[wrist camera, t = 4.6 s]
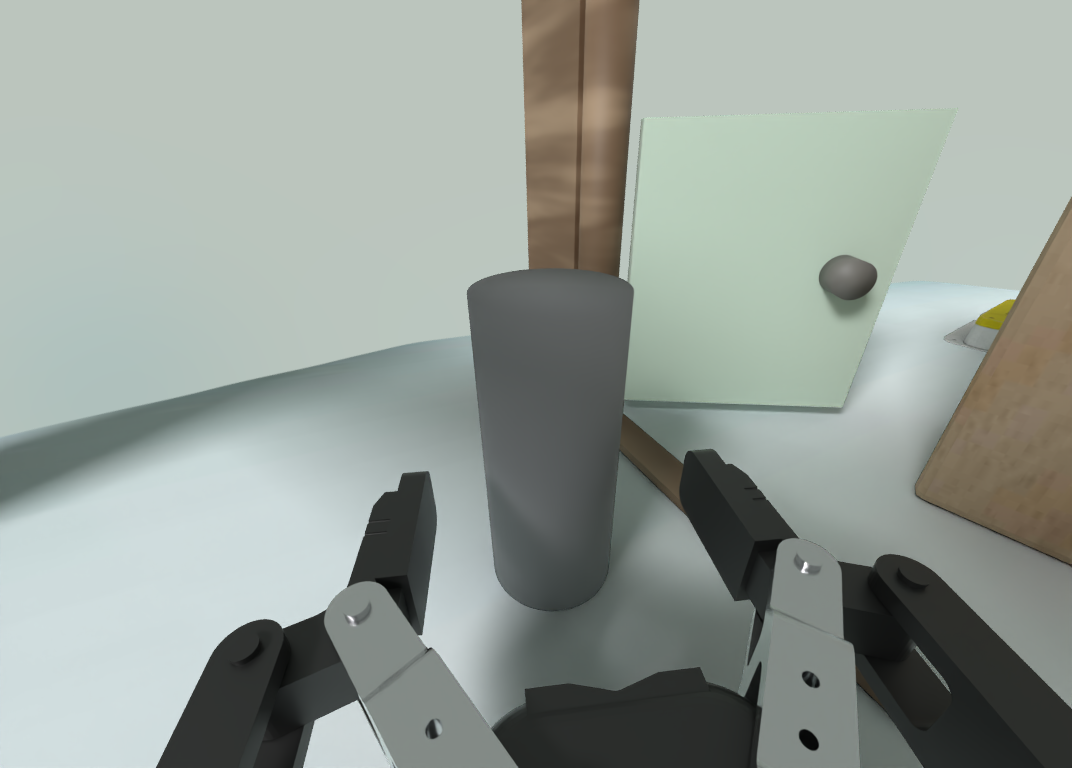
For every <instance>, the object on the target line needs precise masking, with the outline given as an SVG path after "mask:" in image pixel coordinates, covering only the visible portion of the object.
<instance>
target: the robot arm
mask: <svg viewBox="0 0 1072 768" xmlns="http://www.w3.org/2000/svg"><path fill="white" fill-rule="evenodd" d="M679 497H680V501H681V505H682V507H683V509H684V511H685V513H686V514H687V516H688V518H689V520H690V522H691V523H692V525H693V527H694V529H695V531H696V532H697V534H698V536H699V538H700V540H701V541H702V543H703V545H704V547H705V549H706V550H707V552H708V554H709V556H710V558H711V559H712V561H713V563H714V565H715V567H716V568H717V570H718V572H719V574H720V576H721V577H722V579H723V581H724V583H725V585H726V586H727V588H728V590H729V592H730V594H731V595H732V597H733V599H734V601H741V600H751V601H752V603H753V605H754V607H755V609H754V611H753V615H752V621H751V627H750V633H749V639H748V645H747V651H746V657H745V663H744V669H743V675H742V679H741V683H740V687H739V690H738V694H737V693H735V692H734V691H731V690H729V689H727V688H724V687H722V686H719V685H715V684H712V683H708V682H706V681H705V678H704V676H703V673H702V671H701V669H700V667H697V668H689V669H681V670H673V671H665V672H658V673H656V674H654V675H651V676H649V677H647V678H645V679H643V680H641V681H639V682H636V683H634V684H632V685H630V686H628V687H626V688H624V689H622V690H618V691H611V690H605V689H599V688H593V687H587V686H581V685H575V684H561V685H553V686H545V687H537V688H529V689H525V697H526V704H523V705H521V706H519V707H517V708H515V709H514V710H512V711H511V712H509V713H508V714H506V715H505V716H504V717H503V718H501V719H500V720H499V721H498V722H497V723H496V724H495V725H494V726H493V727H492V728H490V727H489V725H488V724H487V723H486V721H485V720H484V718H483V717H482V715H481V714H480V713H479V711H478V710H477V708H476V707H475V706H474V704H473V703H472V701H471V700H470V698H469V697H468V696H467V694H466V693H465V691H464V690H463V689H462V687H461V686H460V684H459V683H458V681H457V680H456V679H455V677H454V676H453V674H452V673H451V672H450V670H449V669H448V667H447V666H446V664H445V663H444V662H443V660H442V659H441V657H440V656H439V655H438V654H437V652H436V651H435V650H434V649H433V648H429V649H428V648H427V647H426V646H425V645H424V644H423V642H422V641H421V639H420V638H419V637H418V635H422V633H423V625H424V618H425V610H426V603H427V595H428V588H429V580H430V573H431V565H432V558H433V550H434V543H435V535H436V527H437V515H436V506H435V501H434V495H433V489H432V484H431V478H430V474H429V472H428V471H425V472H413V473H403V474H402V476H401V480H400V484H399V488H398V491H395V492H385V493H384V494H383V495H382V496H381V498H380V499H379V500H378V501H377V502H376V503H375V505H374V506H373V509H372V512H371V515H370V518H369V524H367V528H366V531H365V536H364V537H363V540H362V543H361V546H360V549H359V552H358V556H357V559H356V562H355V565H354V568H353V571H352V574H351V577H350V581H349V583H348V586H347V588H346V589H344V590H343V591H341V592H340V593H339V594H338V595H337V596H336V597H335V598H334V599H333V600H332V601H331V603H330V604H329V606H328V608H327V609H326V610H325V611H323V612H322V613H320V614H318V615H316V616H314V617H311V618H309V619H306V620H304V621H301V622H299V623H296V624H293V625H291V626H288V627H286V628H283V629H282V627H281V626H280V625H279V624H278V623H277V622H275V621H273V620H267V619H263V620H256V621H253V622H250V623H247V624H245V625H243V626H241V627H239V628H238V629H236V630H235V631H233V632H232V633H231V634H229V635H228V636H227V637H226V638H225V639H224V640H223V641H222V642H221V643H220V644H219V645H218V646H217V647H216V649H215V650H214V652H213V653H212V655H211V657H210V659H209V661H208V663H207V665H206V667H205V669H204V671H203V673H202V675H201V677H200V679H199V681H198V683H197V685H196V687H195V689H194V691H193V693H192V695H191V697H190V699H189V701H188V704H187V706H186V708H185V710H184V712H183V714H182V716H181V718H180V720H179V722H178V724H177V726H176V728H175V730H174V732H173V734H172V736H171V738H170V740H169V742H168V744H167V746H166V748H165V750H164V752H163V755H162V757H161V759H160V761H159V763H158V765H157V767H156V768H303V765H304V761H305V757H306V753H307V749H308V745H309V741H310V737H311V733H312V729H313V725H314V721H315V720H316V719H318V718H320V717H322V716H325V715H327V714H329V713H331V712H333V711H335V710H337V709H339V708H341V707H343V706H345V705H347V704H350V703H352V702H354V701H356V700H357V701H358V703H359V705H360V707H361V709H362V711H363V713H364V715H365V717H366V719H367V721H368V723H369V725H370V727H371V729H372V731H373V733H374V735H375V737H376V739H377V741H378V743H379V745H380V747H381V749H382V751H383V753H384V755H385V757H386V759H387V761H388V763H389V765H390V768H860V750H859V730H858V711H857V691H856V671H855V665H856V666H857V668H858V669H859V671H860V672H861V674H862V675H863V677H864V678H865V680H866V681H867V683H868V684H869V686H870V687H871V689H872V690H873V692H874V693H875V695H876V696H877V698H878V699H879V701H880V702H881V704H882V705H883V707H884V708H885V710H886V711H887V713H888V714H889V716H890V717H891V719H892V720H893V722H894V723H895V725H896V726H897V728H898V729H899V731H900V732H901V734H902V735H903V737H904V738H905V740H906V741H907V743H908V744H909V746H910V747H911V749H912V750H913V752H914V753H915V755H916V756H917V758H918V759H919V761H920V762H921V764H922V765H923V767H924V768H1072V709H1071V708H1070V707H1069V706H1068V705H1067V704H1066V703H1065V702H1064V701H1063V700H1062V699H1061V698H1060V697H1059V696H1058V695H1057V694H1056V693H1055V692H1054V691H1053V690H1052V689H1051V688H1050V687H1049V686H1048V685H1047V684H1046V683H1045V682H1044V681H1043V680H1042V679H1041V678H1040V677H1039V676H1038V675H1037V674H1036V673H1035V672H1034V671H1033V670H1032V669H1031V668H1030V667H1029V666H1028V665H1027V664H1026V663H1025V662H1024V661H1023V660H1022V659H1021V658H1020V657H1019V656H1018V655H1017V654H1016V653H1015V652H1014V651H1013V650H1012V649H1011V648H1010V647H1009V646H1008V645H1007V644H1006V643H1005V642H1004V641H1003V640H1002V639H1001V638H1000V637H999V636H998V635H997V634H996V633H995V632H994V631H993V630H992V629H991V628H990V627H989V626H988V625H987V624H986V623H985V622H984V621H983V620H982V619H981V618H980V617H979V616H978V615H977V614H976V613H975V612H974V611H973V610H972V609H971V608H970V607H969V606H968V605H967V604H966V603H965V602H964V601H963V600H962V599H961V598H960V597H959V596H958V595H957V594H956V593H955V592H954V591H953V590H952V589H951V588H950V587H949V586H948V585H947V584H946V583H945V582H944V581H943V580H942V579H941V578H940V577H939V576H938V575H937V574H936V573H935V572H933V571H932V570H931V569H929V568H928V567H926V566H925V565H923V564H921V563H919V562H917V561H915V560H913V559H910V558H907V557H904V556H900V555H894V554H888V555H883V556H881V557H879V558H878V559H877V561H876V562H875V564H874V566H873V567H868V566H862V565H856V564H850V563H845V562H839V561H837V560H836V559H835V558H834V557H833V556H832V555H831V554H830V553H829V552H828V551H826V550H825V549H824V548H822V547H821V546H819V545H817V544H815V543H813V542H810V541H807V540H803V539H799V538H798V537H797V535H796V534H795V533H794V532H793V530H792V529H791V528H790V527H789V525H788V524H787V523H786V522H785V521H784V519H783V518H782V517H781V516H780V514H779V513H778V512H777V511H776V510H775V508H774V507H773V506H772V505H771V503H770V502H769V501H768V500H766V497H765V496H764V495H763V494H762V492H761V491H760V490H758V489H757V486H756V485H755V484H754V482H753V481H752V480H751V479H750V478H749V476H748V475H747V474H746V473H744V472H743V471H741V470H740V469H738V468H737V467H735V466H734V465H733V464H725V463H724V461H723V460H722V459H721V458H720V456H719V455H718V454H717V452H716V451H715V450H713V449H706V450H693V451H688V452H687V453H686V455H685V460H684V465H683V470H682V476H681V481H680V486H679ZM916 646H918V647H919V649H920V650H921V651H922V652H923V654H924V655H925V656H926V657H927V658H928V660H929V661H930V662H931V663H932V665H933V666H934V667H935V668H936V670H937V671H938V672H939V673H940V674H941V676H942V677H943V678H944V680H945V681H946V683H947V685H948V687H949V689H950V692H951V694H950V692H949V691H948V690H947V689H946V687H945V686H944V685H943V684H942V682H941V681H940V680H939V679H938V677H937V676H936V675H935V674H934V672H933V671H932V670H931V669H930V667H929V666H928V665H927V664H926V662H925V661H924V660H923V659H922V657H921V656H920V655H919V654H918V653H917V651H916V650H915V649H914V648H915V647H916Z"/></svg>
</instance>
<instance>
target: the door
mask: <svg viewBox="0 0 1072 768" xmlns="http://www.w3.org/2000/svg"><path fill="white" fill-rule="evenodd" d="M957 111H958V108H954V109H923V110H922V109H921V110H893V111H892V110H888V111H856V112H825V113H792V114H791V113H790V114H760V115H759V114H758V115H725V116H696V117H695V116H694V117H664V118H663V117H662V118H661V117H660V118H643V119H642V120H641V130H640V141H639V153H638V165H637V177H636V188H635V200H634V211H633V224H632V235H631V246H630V259H629V270H628V283H630V284H631V285H632V287H633V288H634V299H633V309H632V320H631V331H630V341H629V352H628V363H627V374H626V384H625V395H624V400H638V401H666V402H695V403H723V404H752V405H780V406H809V407H837V408H842V407H843V404H844V402H845V399H846V397H847V394H848V392H849V389H850V386H851V384H852V381H853V379H854V376H855V374H856V371H857V368H858V366H859V363H860V361H861V358H862V356H863V353H864V350H865V348H866V345H867V343H868V340H869V337H870V335H871V332H872V330H873V327H874V325H875V322H876V319H877V317H878V314H879V312H880V309H881V307H882V304H883V301H884V299H885V296H886V294H887V291H888V289H889V286H890V283H891V281H892V278H893V276H894V273H895V270H896V268H897V265H898V263H899V260H900V258H901V255H902V252H903V250H904V247H905V245H906V242H907V239H908V237H909V234H910V232H911V229H912V227H913V224H914V221H915V219H916V216H917V214H918V211H919V208H920V206H921V203H922V201H923V198H924V196H925V193H926V191H927V188H928V185H929V183H930V180H931V177H932V175H933V173H934V170H935V167H936V165H937V162H938V160H939V157H940V154H941V152H942V149H943V147H944V144H945V142H946V139H947V136H948V133H949V131H950V129H951V126H952V123H953V121H954V118H955V116H956V113H957Z"/></svg>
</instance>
